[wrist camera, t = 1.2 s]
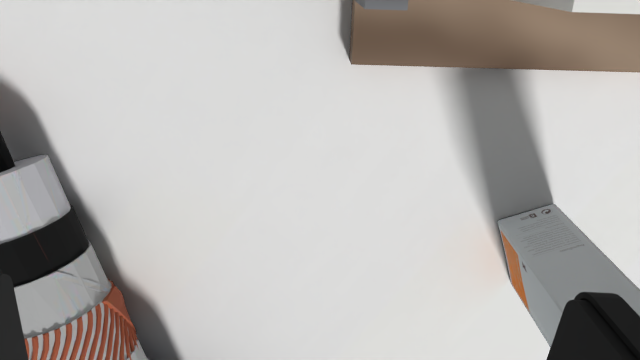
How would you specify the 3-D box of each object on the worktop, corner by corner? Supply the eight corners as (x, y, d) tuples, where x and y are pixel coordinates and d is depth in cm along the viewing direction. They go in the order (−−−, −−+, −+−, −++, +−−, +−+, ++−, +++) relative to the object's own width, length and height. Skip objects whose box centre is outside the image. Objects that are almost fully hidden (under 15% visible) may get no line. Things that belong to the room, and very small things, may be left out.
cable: (49, 66, 35) (43, 58, 26) (205, 438, 45) (239, 524, 36) (-121, 110, 31) (-196, 118, 22) (89, 505, 41) (96, 619, 32)
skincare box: (494, 219, 36) (578, 335, 25) (554, 201, 35) (667, 310, 24) (509, 286, 38) (592, 419, 27) (565, 270, 37) (673, 398, 26)
